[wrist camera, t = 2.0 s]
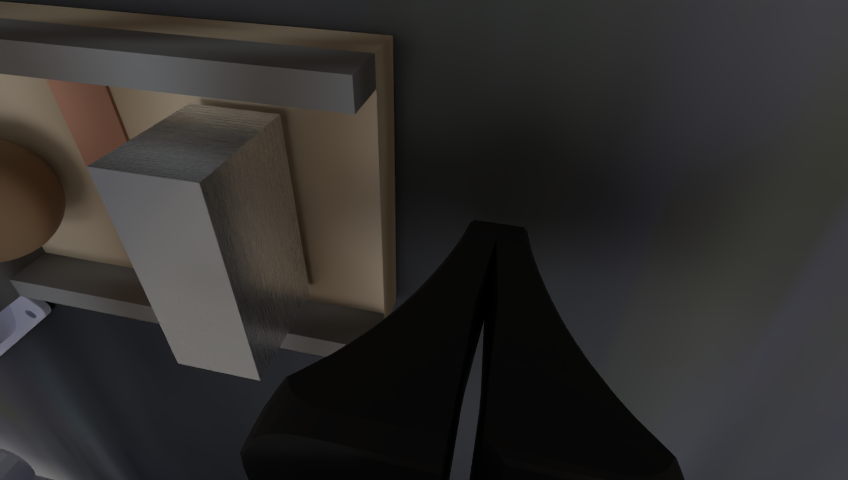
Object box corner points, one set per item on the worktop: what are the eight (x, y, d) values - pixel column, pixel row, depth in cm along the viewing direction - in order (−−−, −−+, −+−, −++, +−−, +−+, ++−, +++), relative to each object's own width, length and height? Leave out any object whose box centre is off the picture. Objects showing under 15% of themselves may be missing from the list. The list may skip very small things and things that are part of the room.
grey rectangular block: (279, 114, 11) (199, 183, 9) (310, 294, 15) (260, 380, 12) (189, 103, 12) (85, 166, 9) (240, 282, 15) (178, 363, 13)
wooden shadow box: (392, 35, 11) (309, 117, 7) (396, 299, 17) (349, 427, 13) (-104, -8, 14) (-371, 37, 10) (41, 237, 19) (-92, 329, 15)
